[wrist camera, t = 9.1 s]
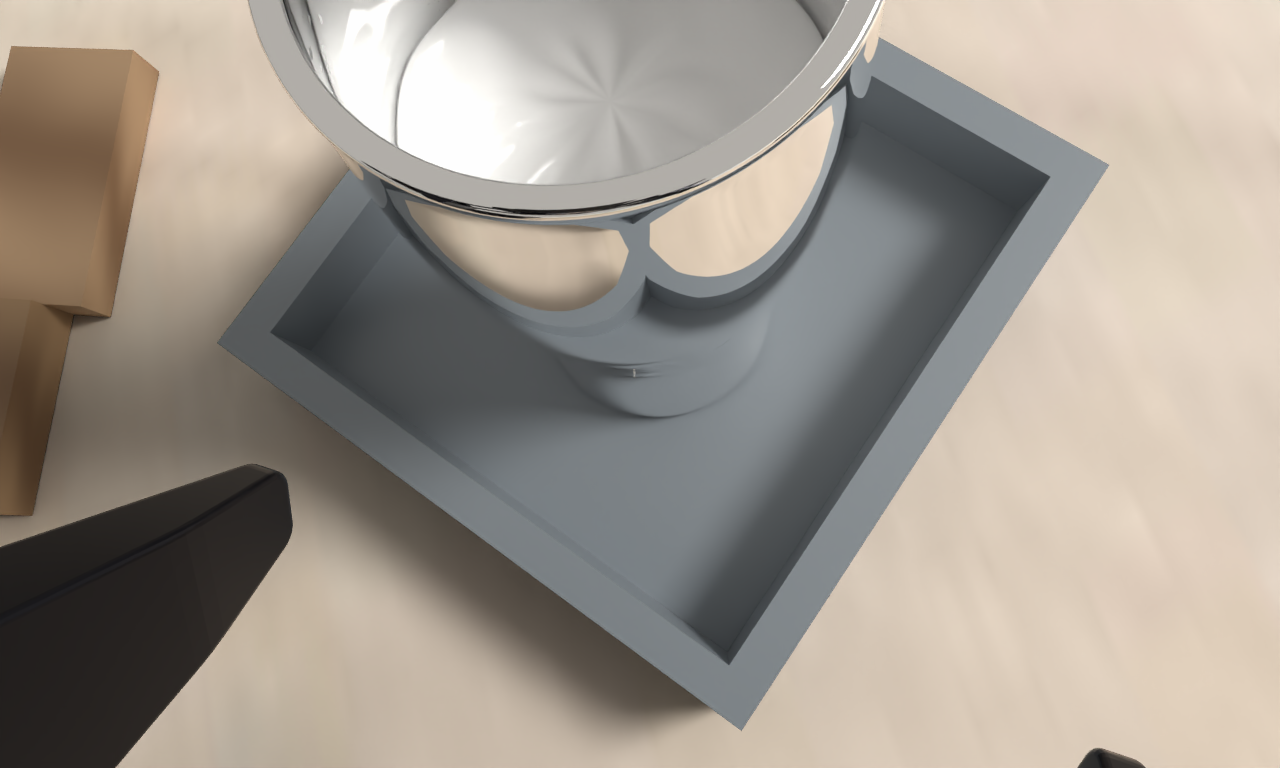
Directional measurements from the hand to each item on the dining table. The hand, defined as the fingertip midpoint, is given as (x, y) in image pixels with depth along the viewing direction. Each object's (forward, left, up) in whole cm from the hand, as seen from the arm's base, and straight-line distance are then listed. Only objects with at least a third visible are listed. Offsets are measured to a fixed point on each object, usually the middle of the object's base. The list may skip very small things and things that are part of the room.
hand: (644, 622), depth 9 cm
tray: (+6, +5, -14) cm, 16 cm away
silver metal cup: (+5, +5, -13) cm, 15 cm away
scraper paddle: (-3, +21, -14) cm, 25 cm away
